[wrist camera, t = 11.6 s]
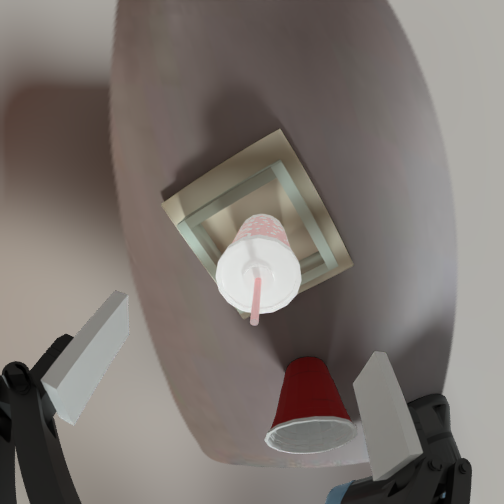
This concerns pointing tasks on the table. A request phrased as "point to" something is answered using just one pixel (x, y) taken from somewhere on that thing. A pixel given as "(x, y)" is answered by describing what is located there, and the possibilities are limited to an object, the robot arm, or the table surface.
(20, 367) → the robot arm
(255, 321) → the beverage cup
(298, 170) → the cup stand
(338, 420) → the plastic cup
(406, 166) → the table surface
